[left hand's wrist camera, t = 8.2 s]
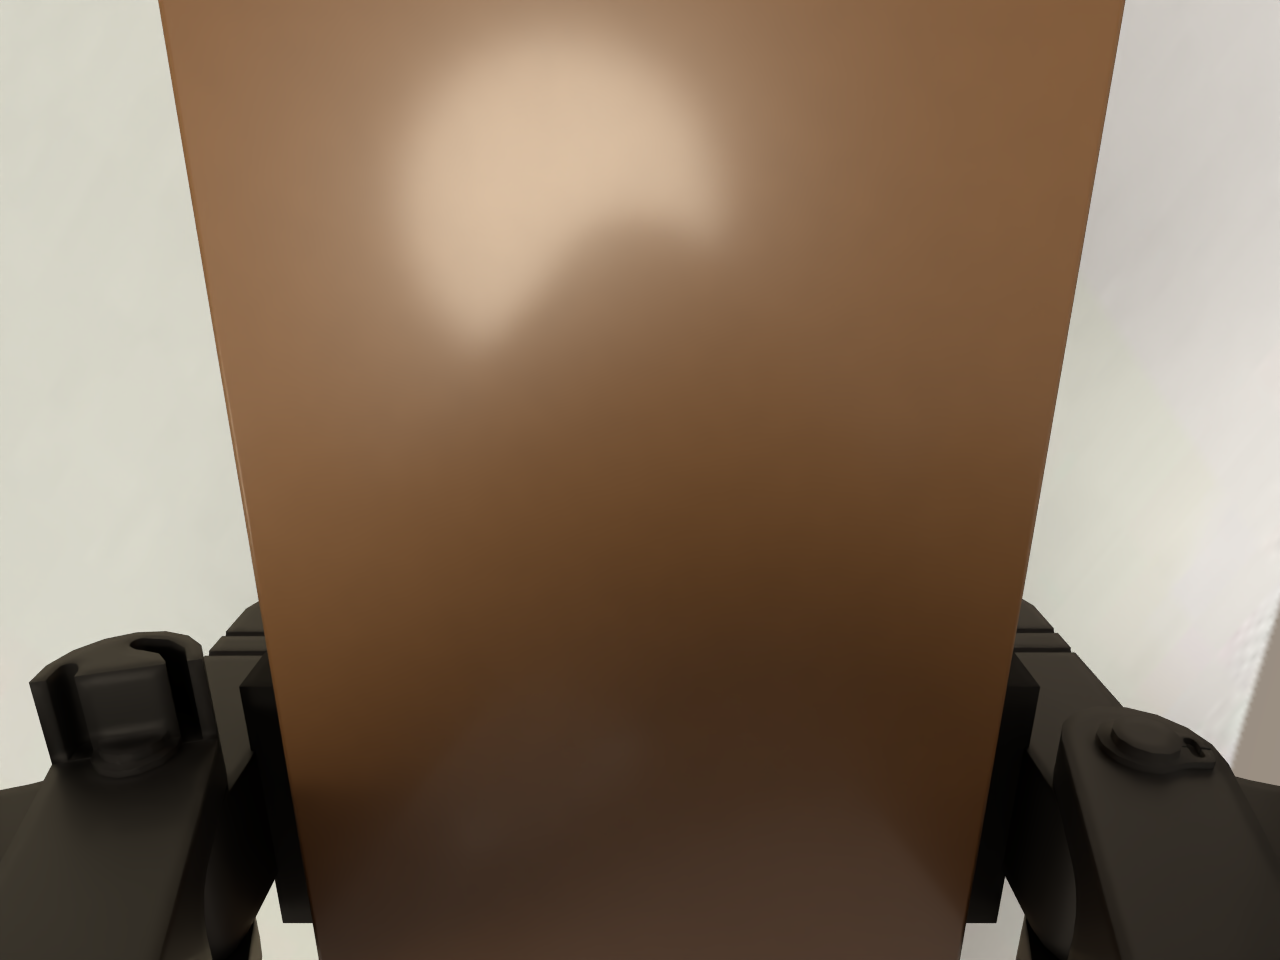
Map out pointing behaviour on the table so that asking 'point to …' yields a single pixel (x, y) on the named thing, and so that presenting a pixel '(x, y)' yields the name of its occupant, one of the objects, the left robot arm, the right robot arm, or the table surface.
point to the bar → (640, 447)
